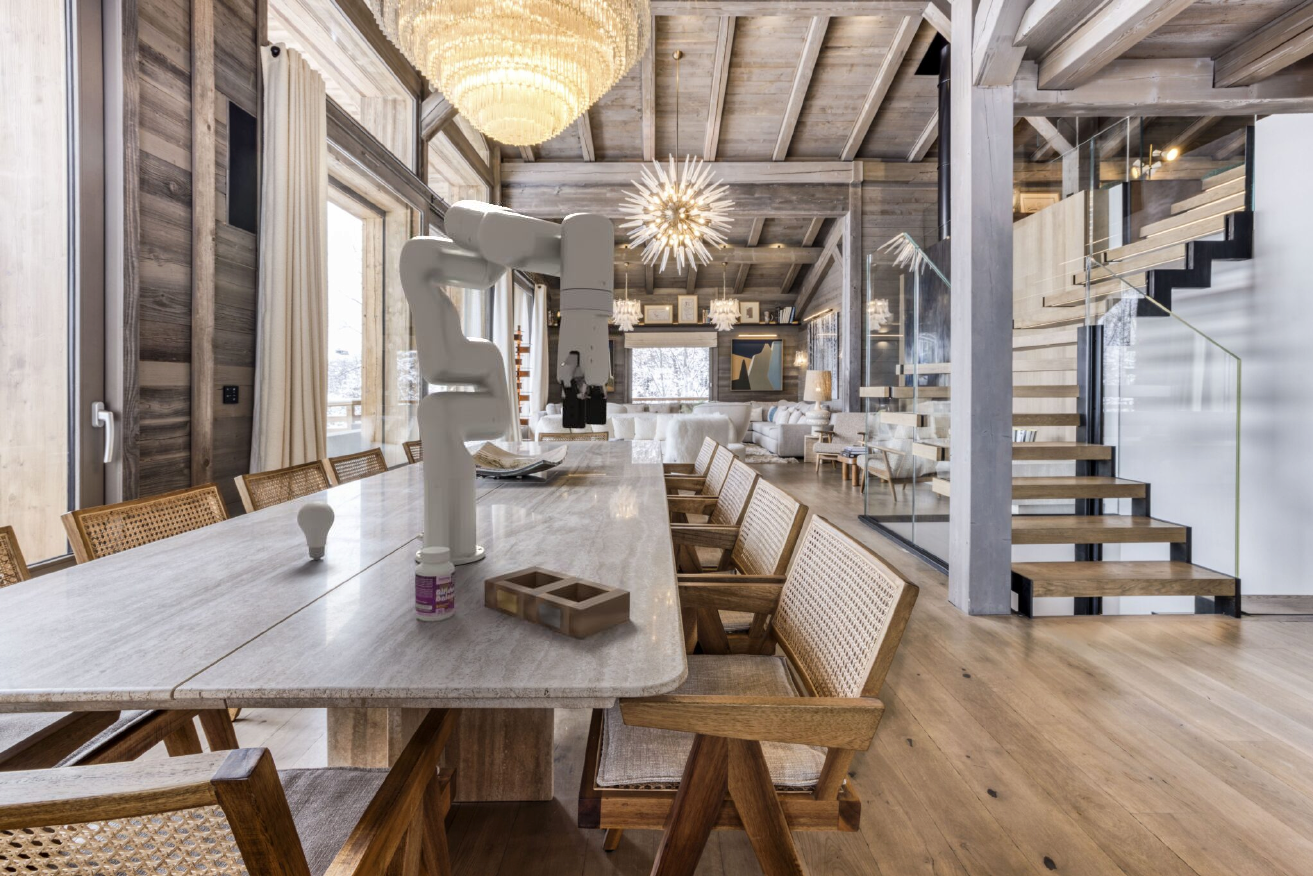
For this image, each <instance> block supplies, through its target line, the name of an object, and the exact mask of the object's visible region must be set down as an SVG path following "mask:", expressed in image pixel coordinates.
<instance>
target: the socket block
mask: <svg viewBox="0 0 1313 876" xmlns="http://www.w3.org/2000/svg"><path fill="white" fill-rule="evenodd" d="M483 587H484V589H483V590H484V591H483V592H484V594H483V595H484V597H483V598H484V599H483V600H484V602H483V603H484V605H483V606H484V607H485V608H489V609H492V610H494V611H498V612H501V613H502V614H506V615H509V616H511V617H515V618H517V619H520V620H523V621H526V622H529V623H531V624H534V625H535V624H536V625H537V626H540V627H543V628H547V629H549V630H553V631H555V632H558V633H561V634H564V635H566V636H569V637H572V638H575V639H578V640H583V639H586V638H588V637H591V636H593V635H595V634H598V633H600V632H603V631H604V630H607V629H610V628H612V627H613V626H614V627H615V626H616V625H619V624H622V623H623V622H626V621H628V620H630V617H631V616H630V615H631V614H630V612H631V591H629V590H627V589H622V588H618V587H614V586H611V585H607V584H603V583H599V582H595V581H592V580H588V579H584V578H580V577H578V576H577V577H576V576H573V575H569V574H566V573H562V572H559V571H554V570H551V569H548V568H547V569H546V568H544V567H540V566H536V565H535V566H530V567H527V568H523V569H519V570H517V571H512V572H509V573H505V574H502V575H501V574H500V575H498V576H494V577H491V578H487V579H484V586H483Z"/></svg>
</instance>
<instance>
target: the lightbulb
mask: <svg viewBox="0 0 1313 876" xmlns="http://www.w3.org/2000/svg"><path fill="white" fill-rule="evenodd" d="M334 522H335V512H334V510H333V508H332V506H331V505H330V504H328V503H327V502H324V501H319V500H315V501H313V500H312V501H309V502H307V503H305V504H304V505H303V506H302V507H301V508H300V509H299V511H298V514H297V524H298V526H299V528H300V529H301V531H302V533H303V534H304V537H305V539H306V546H307V547H308V554H309V557H310V558H311V559H312V560H315V561H318V560H320V559H321V558H323V557H324V556H325V555H326V554H325V552H326V551H325V550H326V545H327V538H328V534H329V531H330V530H331V528H332V526H333V524H334Z"/></svg>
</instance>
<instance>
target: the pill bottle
mask: <svg viewBox="0 0 1313 876" xmlns="http://www.w3.org/2000/svg"><path fill="white" fill-rule="evenodd" d="M421 549H422V550H421ZM421 549H420V550H421V551H420V559H421V561H422V563H420V562H419V564H418V565H416V568H415V571H414V573H415V575H414V576H415V577H414V579H415V580H414V589H415V590H414V598H415V600H414V601H415V604H414V605H415V607H414V609H415V611H414V612H415V614H414V615H415V617H416V619H418V620H420V621H423V622H439V621H444V620H447V619H449V618H451V617H453V615H455V612H456V611H455V609H456V606H455V605H456V601H455V600H456V591H455V590H456V589H455V588H456V579H455V578H456V568H455V565H453V564H452V563H451V562H450V561H448V560H449V558H450V549H449V548H447V547H429V548H424V549H423V548H421Z"/></svg>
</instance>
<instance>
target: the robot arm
mask: <svg viewBox="0 0 1313 876" xmlns="http://www.w3.org/2000/svg"><path fill="white" fill-rule="evenodd" d="M443 226H444V230H445V232H446V235H447V237H449V238H448V239H447V238H444V237H438V236H431V235H430V236H428V235H427V236H425V235H421V236H415V237H412V238H410V239H408V240H407V241H406V242H404V243H405V244H404V245H403V246H402V249H401V251H400V257H399V264H398V267H399V278H400V284H401V287H402V291H403V293H404V296H405V299H406V301H407V304H408V306H409V308H410V312H411V315H412V317H411V318H412V321H413V328H414V329H413V330H414V339H415V345H416V352H417V360H418V366H419V370H420V373H421V376H422V378H423V380H424V381H425V382H426V383H428V384H429V385H434V386H441V387H472V388H473V391H461V390H459V391H455V390H453V391H452V390H449V391H448V390H445V391H437V392H431V393H430V394H428V395H425V396H424V397H423V398H422V399H421V400H420V401H419V404H418V405H417V411H416V418H417V420H416V421H417V426H418V430H419V435H420V441H421V447H422V448H421V450H422V466H423V467H422V470H423V472H422V474H423V475H422V477H423V531H422V533H419V534H418V535H417V540H418V541H419V542H422V548H420V549H419V550H417V551H416V552H415V557H414V558H415V561H417V562H418V563H419V564H420V563H422V561H421V559H420V551H421V550H422V549H424V548H429V547H447V548H449V549H450V558H449V560H448V561H450V562H451V563H452V564H453V565H454V566H457V565H464V564H468V563H470V564H471V563H473V562H476V561H479V560H481V559H482V558H484V557H485V552H486V551H485V548H484V547H482V546H480V545H478V544H477V467H476V462H475V460H474V457H473V455H472V454H471V452H470V451H469V450H468V448H467V447H466V445H465V443H468V442H481V441H493V440H494V441H495V440H500V439H501V438H503V437H505V436H506V435H507V433H508V432H509V429H510V427H511V421H512V412H511V405H510V404H511V403H510V397H509V388H508V383H507V375H506V368H505V362H504V359H503V355H502V352H501V351H500V349H499V348H498V346H497V345H496V343H494V342H493V341H491V340H488V339H485V338H480V337H468V336H465V335H464V334H463V331H462V326H461V317H460V313H459V310H458V308H457V307H456V305H455V303H454V302H453V300H452V299H451V298H450V296H449V295H448V294H447V293H446V292H445V291H444V290H443V289H442V287H441V286H447V287H453V288H454V287H455V288H462V289H467V290H468V289H469V290H476V291H483V290H488V289H490V288H491V287H493V286H494V285H496V283H498V282H499V280H501V278H502V277H503V276H504V275H505V274H506V273H507V271H508V270H509V269H512V270H517V271H522V272H528V273H529V272H530V273H536V274H544V275H548V276H552V277H558V278H559V279H560V280H559V281H560V285H559V287H560V288H559V289H560V290H559V291H560V292H559V294H560V295H559V296H560V298H559V316H560V317H561V318H560V326H559V332H558V334H559V335H558V344H557V345H558V347H557V363H556V365H557V366H556V367H557V368H556V380H557V382H558V383H559V384H560V385H561V387H562V391H561V398H562V405H561V406H562V408H561V409H562V411H561V412H562V413H561V414H562V415H561V417H562V419H561V421H562V424H561V425H562V428H563V429H577V430H579V429H580V430H582V429H585V428H586V427H587V426H586V425H597V426H605V425H607V414H608V413H607V410H608V409H607V407H608V399H607V397H608V391H607V387H608V381H609V374H610V343H609V342H610V341H609V338H610V336H609V322H608V321H609V319H612V318H613V317H614V285H615V284H614V279H615V278H614V277H615V274H614V273H615V264H614V263H615V226H614V224H613V222H612V220H611V219H609V218H608V217H607V216H604V215H601V214H596V213H590V212H579V213H573V214H569V215H567V216H566V217H565V218H564V219H563V220H562V222H561V224H560V223H557V222H552V221H549V220H544V219H541V218H536V217H532V216H526V215H522V214H520V213H519V212H517V211H516V210H514V209H511V208H508V207H505V206H503V207H502V206H499V205H494V204H491V203H490V204H489V203H486V202H481V201H477V200H470V199H469V200H461V201H457V202H456V203H453V204H452V205H451V206H450V207H448V209H447V211H446V213H445V214H444V218H443ZM586 393H587V394H586ZM585 394H586V395H587V397H585ZM584 397H585V398H584Z"/></svg>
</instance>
